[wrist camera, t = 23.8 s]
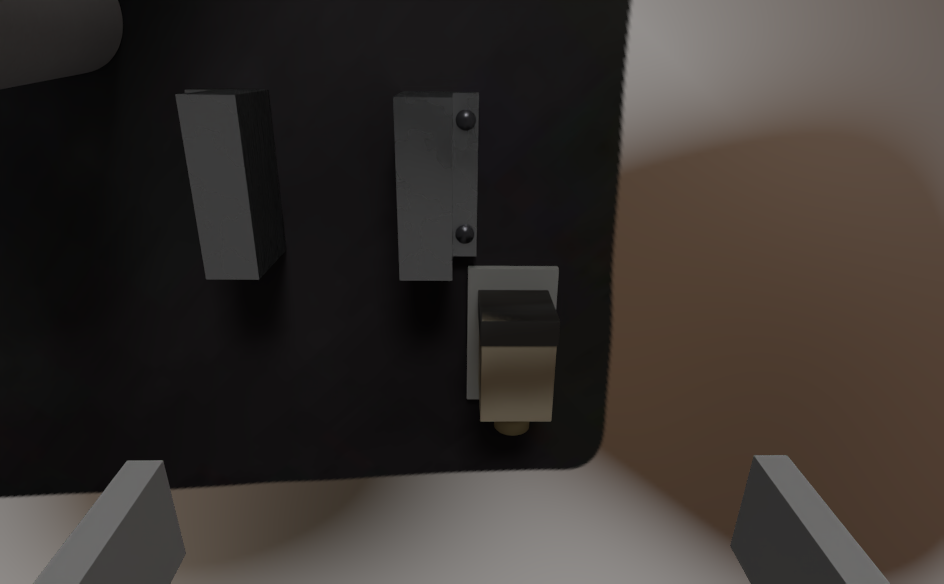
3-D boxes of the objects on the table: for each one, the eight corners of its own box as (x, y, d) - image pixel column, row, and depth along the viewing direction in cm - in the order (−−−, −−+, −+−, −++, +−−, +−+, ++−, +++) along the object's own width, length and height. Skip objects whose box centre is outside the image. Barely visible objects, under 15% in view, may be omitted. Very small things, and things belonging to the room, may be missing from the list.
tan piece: (478, 289, 39) (480, 321, 34) (548, 290, 39) (560, 322, 34) (476, 404, 42) (478, 448, 38) (541, 405, 42) (551, 448, 38)
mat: (468, 265, 39) (468, 268, 38) (557, 266, 39) (558, 269, 39) (466, 394, 43) (466, 399, 42) (548, 394, 43) (549, 399, 42)
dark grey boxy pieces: (191, 88, 35) (145, 93, 29) (478, 92, 35) (481, 98, 30) (217, 249, 38) (179, 279, 33) (475, 251, 39) (478, 280, 33)
